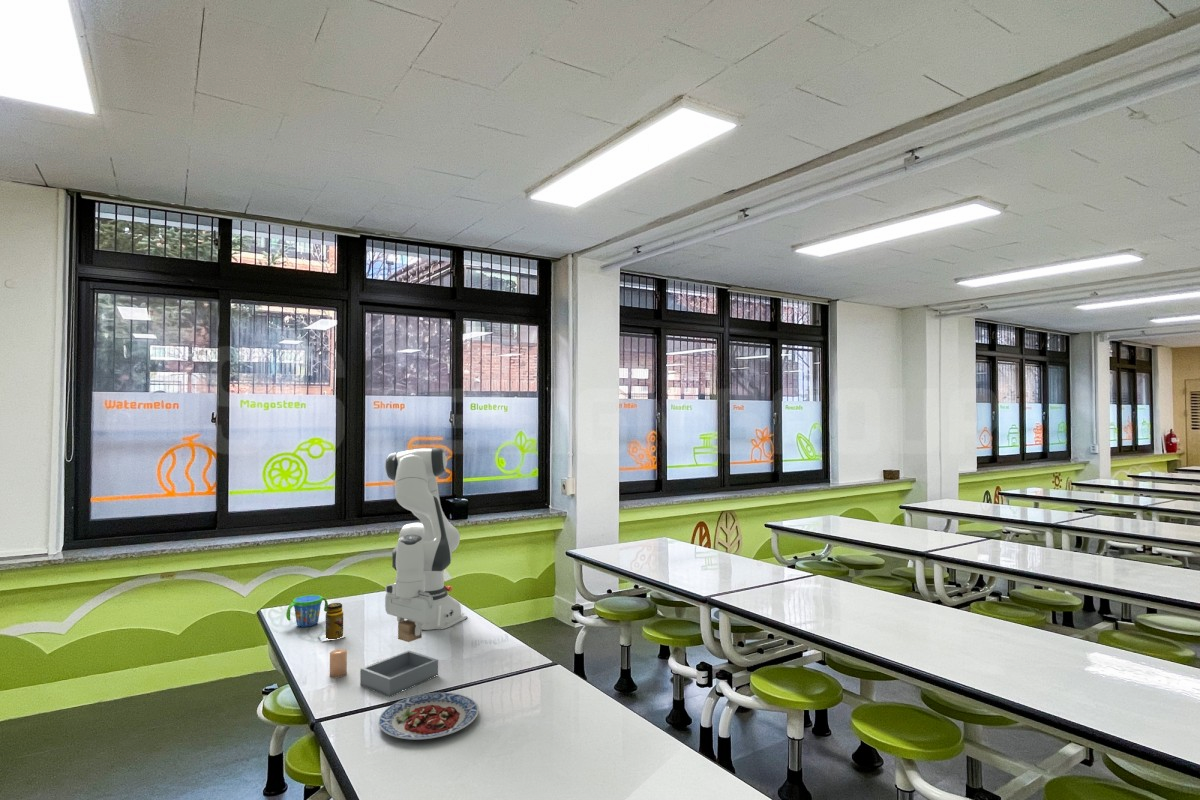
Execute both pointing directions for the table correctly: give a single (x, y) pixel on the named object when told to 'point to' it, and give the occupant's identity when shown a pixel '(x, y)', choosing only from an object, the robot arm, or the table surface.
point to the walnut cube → (407, 631)
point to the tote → (398, 672)
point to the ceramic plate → (428, 716)
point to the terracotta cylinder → (338, 663)
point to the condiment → (334, 621)
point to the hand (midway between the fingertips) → (409, 633)
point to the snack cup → (307, 609)
